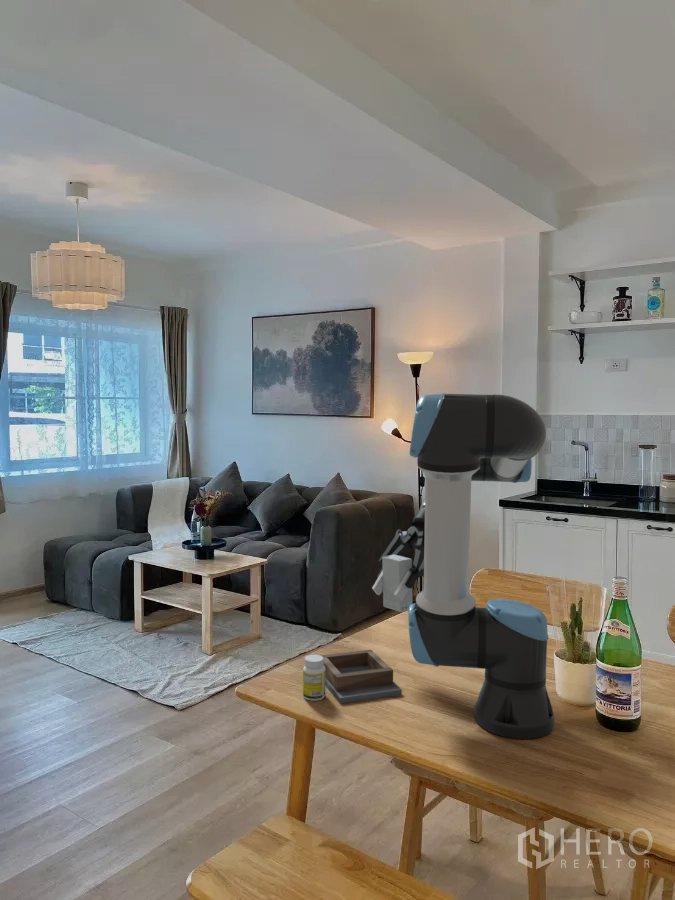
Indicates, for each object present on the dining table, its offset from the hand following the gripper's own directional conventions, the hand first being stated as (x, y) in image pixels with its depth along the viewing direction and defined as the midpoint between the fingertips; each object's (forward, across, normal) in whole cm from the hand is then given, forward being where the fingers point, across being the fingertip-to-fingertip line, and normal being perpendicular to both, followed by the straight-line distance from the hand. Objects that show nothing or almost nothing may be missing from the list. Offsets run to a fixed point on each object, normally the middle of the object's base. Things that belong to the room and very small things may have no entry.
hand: (386, 594), depth 160 cm
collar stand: (+19, +1, -7) cm, 20 cm away
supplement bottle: (+28, +1, +2) cm, 28 cm away
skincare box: (0, 0, -6) cm, 6 cm away
